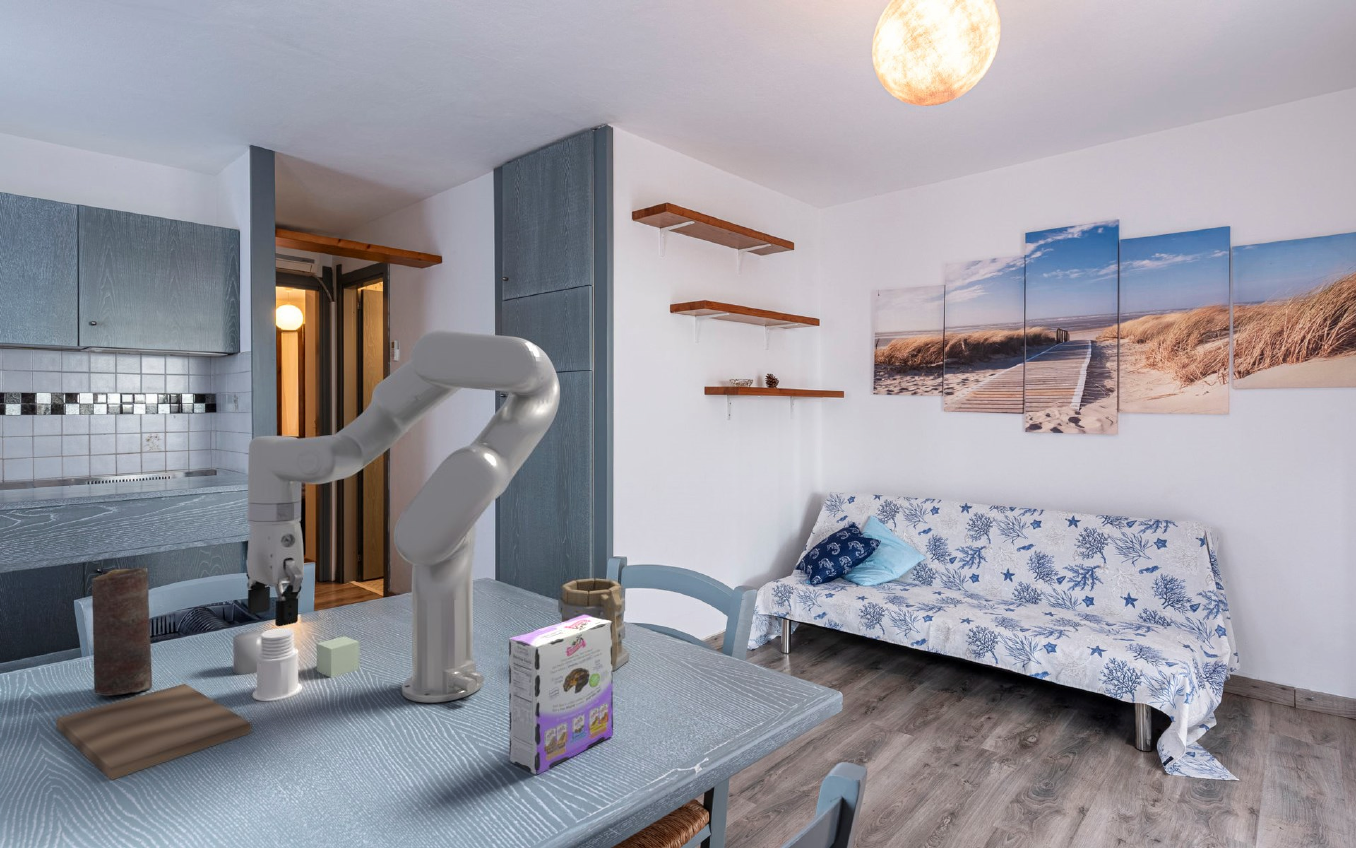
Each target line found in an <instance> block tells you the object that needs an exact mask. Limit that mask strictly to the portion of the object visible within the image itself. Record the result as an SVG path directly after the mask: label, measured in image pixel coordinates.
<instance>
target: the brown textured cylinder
mask: <svg viewBox="0 0 1356 848" xmlns="http://www.w3.org/2000/svg"><path fill="white" fill-rule="evenodd" d="M91 592H92V595H91V597H92V602H91V603H92V635H93V636H92V637H93V638H92V641H93V642H92V643H93V690H94V691H93V692H94V694H98V695H101V696H114V697H115V696H119V695H124V694H125V695H126V694H130V693H140V692H143V691H148V690H151V689H152V687H153V678H152V677H153V672H152V670H153V669H152V652H151V651H152V650H151V646H152V645H151V631H150V629H151V628H150V603H149V602H150V601H149V597H150V596H149V572H148V568H147V567H145V568H143V567H142V568H141V567H138V568H137V567H136V568H131V569H129V568H124V569H123V568H122V569H113V570H109V571H108V572H107V573H105V574H101V575H99V576H96V577H93V578H92V579H91Z"/></svg>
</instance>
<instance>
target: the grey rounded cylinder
mask: <svg viewBox="0 0 1356 848" xmlns="http://www.w3.org/2000/svg"><path fill="white" fill-rule="evenodd" d="M263 632H264V631H263V630H261V631H260V630H257V631H256V630H255V631H248V632H242V633H239V634H236V635H234V636H233V637H232V638H233V639H232V647H233V650H232V651H233V652H232V653H233V658H232V659H233V662H232V663H233V674H235V675H240V676H241V675H250V674H251V675H252V674H257V655H258V654H259V653H261V649H262V648H261V645H262V644H261V642H262V641H261V638H262V637H261V634H262V633H263Z"/></svg>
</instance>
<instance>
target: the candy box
mask: <svg viewBox="0 0 1356 848" xmlns="http://www.w3.org/2000/svg"><path fill="white" fill-rule="evenodd" d="M508 645H509V647H508V649H509V651H508V655H509V657H508V659H509V660H508V661H509V663H508V665H509V666H508V667H509V669H508V672H509V680H508V681H509V688H508V689H509V691H508V692H509V699H508V700H509V714H508V715H509V762H511V763H513V764H515V765H516V766H518V767H520V768H523V769H524V770H525V771H528V772H529V773H530V774H533V775H536V776H537V775H539V774H541V773H543V772H546V771H548V770H550V769H551V768H553V767H554V766H557V765H559V764H562V763H563V762H564V761H566V760H568V759H571V758H572V757H575V756H576V755H579V754H580V753H583V752H584V751H586V750H587V749H590V748H591V747H594V746H596V745H597V744H600V743H601V742H604V741H605V740H607V739H608V738H611V737H612V736H614V706H613V705H614V703H613V700H614V698H613V685H614V684H613V671H612V621H608V620H604V619H601V618H596V617H592V616H588V615H582V616H579V617H576V618H573V619H570V620H567V621H564V622H562V621H561V622H558V623H555V624H552V625H548V626H546V627H542V628H539V629H536V630H532V631H528V632H526V633H523V634H520V635H516V636H514V637H510V638H509V639H508Z"/></svg>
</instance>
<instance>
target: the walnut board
mask: <svg viewBox="0 0 1356 848" xmlns="http://www.w3.org/2000/svg"><path fill="white" fill-rule="evenodd" d="M56 729H57V730H58V731H59V732H60V734H62V735H63V736H64V737H65V738H66V739H67V740H68V741H69V742H70V743H71V744H72V745H73V746H75V748H77V750H79V752H81V753H82V754H83V755H84V756H85V757H86V758H87V759H88V760H90V762H92V764H93V765H95V766H96V767H97V768H98V769H99V770H100V771H101V772H102V773H103V774H104V775H105V776H106V777H107V778H108V779H109V780H111V781H112V780H116V779H119V778H121V777H124V776H127V775H130V774H134V773H136V772H139V771H142V770H146V769H148V768H151V767H155V766H157V765H160V764H163V763H165V762H168V761H172V760H175V759H179V758H181V757H184V756H186V755H189V754H192V753H195V752H199V751H201V750H204V749H207V748H210V747H212V746H216V745H219V744H222V743H225V742H228V741H231V740H234V739H237V738H240V737H243V736H246V735H248V734H252V723H251V721H250V720H248V719H246V718H244V717H242V716H240V715H239V714H237V713H235V712H234V711H232V710H230V709H229V708H227V707H225V706H223V705H222V704H220V703H219V702H216V701H215V700H213V699H212V698H210V697H208V696H207V695H205V694H203V693H202V692H200V691H198V690H196V689H195V688H193V687H191V686H190V685H188V684H187V683H183V684H180V685H175V686H171V687H168V688H164V689H160V690H156V691H153V692H150V693H145V694H141V695H138V696H133V697H131V698H126V699H123V700H119V701H115V702H111V703H108V704H104V705H101V706H97V707H94V708H89V709H85V710H81V711H78V712H75V713H71V714H66V715H63V716H58V717H56Z"/></svg>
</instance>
